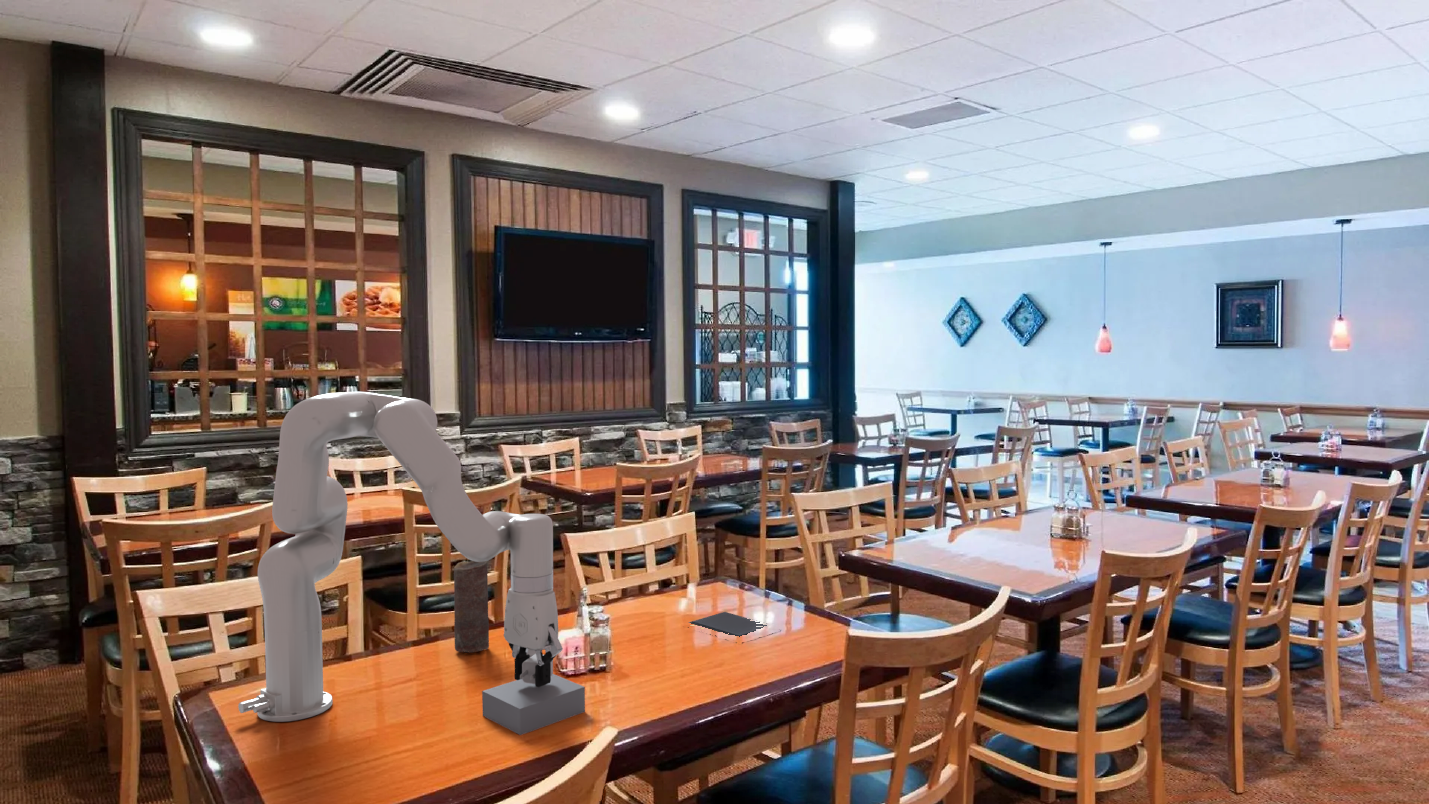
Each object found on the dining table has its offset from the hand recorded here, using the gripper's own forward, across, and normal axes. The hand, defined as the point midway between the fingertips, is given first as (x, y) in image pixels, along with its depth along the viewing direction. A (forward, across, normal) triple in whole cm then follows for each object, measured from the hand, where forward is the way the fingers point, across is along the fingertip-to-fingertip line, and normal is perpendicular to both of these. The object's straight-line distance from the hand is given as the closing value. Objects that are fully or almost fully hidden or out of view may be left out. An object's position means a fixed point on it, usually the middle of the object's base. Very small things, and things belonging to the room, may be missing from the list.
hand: (532, 680), depth 162 cm
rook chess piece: (+6, -23, +19) cm, 30 cm away
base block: (+7, 0, 0) cm, 7 cm away
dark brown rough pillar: (+6, -37, +15) cm, 40 cm away
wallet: (+7, -1, +63) cm, 64 cm away
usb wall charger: (+1, 0, 0) cm, 1 cm away
